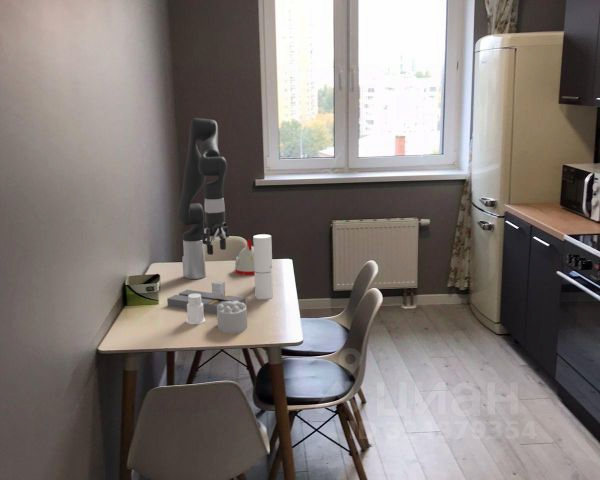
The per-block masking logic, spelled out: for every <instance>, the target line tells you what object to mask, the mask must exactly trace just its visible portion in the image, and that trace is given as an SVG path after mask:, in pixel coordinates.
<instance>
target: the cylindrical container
mask: <svg viewBox="0 0 600 480" xmlns="http://www.w3.org/2000/svg"><path fill="white" fill-rule="evenodd" d="M252 241H253V247H254V270H255V275H254V289H255V291H254V292H255V294H254V295H255V298H256V299H257V300H269V299H271V298H273V297H274V284H273V283H274V281H273V279H274V278H273V253H272V251H273V250H272V249H273V248H272V245H273V244H272V235H270V234H265V233H263V234H256V235H253V239H252Z"/></svg>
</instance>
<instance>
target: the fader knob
mask: <svg viewBox="0 0 600 480" xmlns="http://www.w3.org/2000/svg"><path fill="white" fill-rule="evenodd" d="M211 293H212V298H217V300H218V301H222V298H224V297H225V295H226V283H225V281H220V280H219V281H218V280H215V281H213V282H211Z"/></svg>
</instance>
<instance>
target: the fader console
mask: <svg viewBox="0 0 600 480" xmlns="http://www.w3.org/2000/svg"><path fill="white" fill-rule="evenodd" d="M195 293H196V294H201V303H203V312H205V313H211V314H217V306H218V305H219V304H221V303H223V302H225V301H239V302H242V303H244V304H245V305H246V306H247V298H246V297H244V296H236V295H229V294H225V297H224V298H222V301H218V300H217V298H212V292H207V291H200V290H192V289H185V290H183V291H181V292H179V293H178V294H174V295H172V296H170V297H167V299H166V301H167V307H174V308H180V309H186V310H187V304H188V303H189V301H188V295H190V294H195Z"/></svg>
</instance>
